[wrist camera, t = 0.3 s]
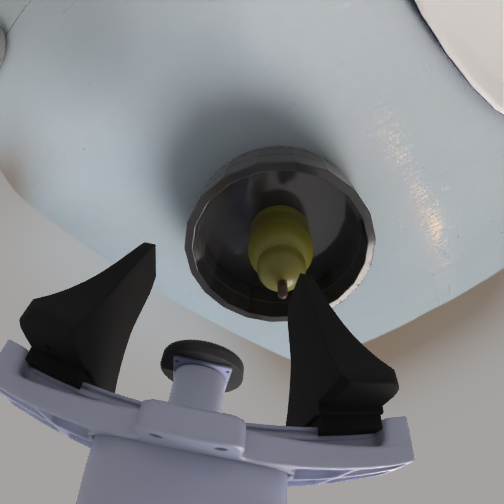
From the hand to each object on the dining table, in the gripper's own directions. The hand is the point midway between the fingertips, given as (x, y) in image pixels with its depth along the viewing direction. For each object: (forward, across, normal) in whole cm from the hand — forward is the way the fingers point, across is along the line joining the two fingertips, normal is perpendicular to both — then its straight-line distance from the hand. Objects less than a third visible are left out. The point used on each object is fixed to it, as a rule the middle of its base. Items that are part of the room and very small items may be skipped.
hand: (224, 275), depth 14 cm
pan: (+9, -3, +2) cm, 10 cm away
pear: (+9, -3, +2) cm, 9 cm away
